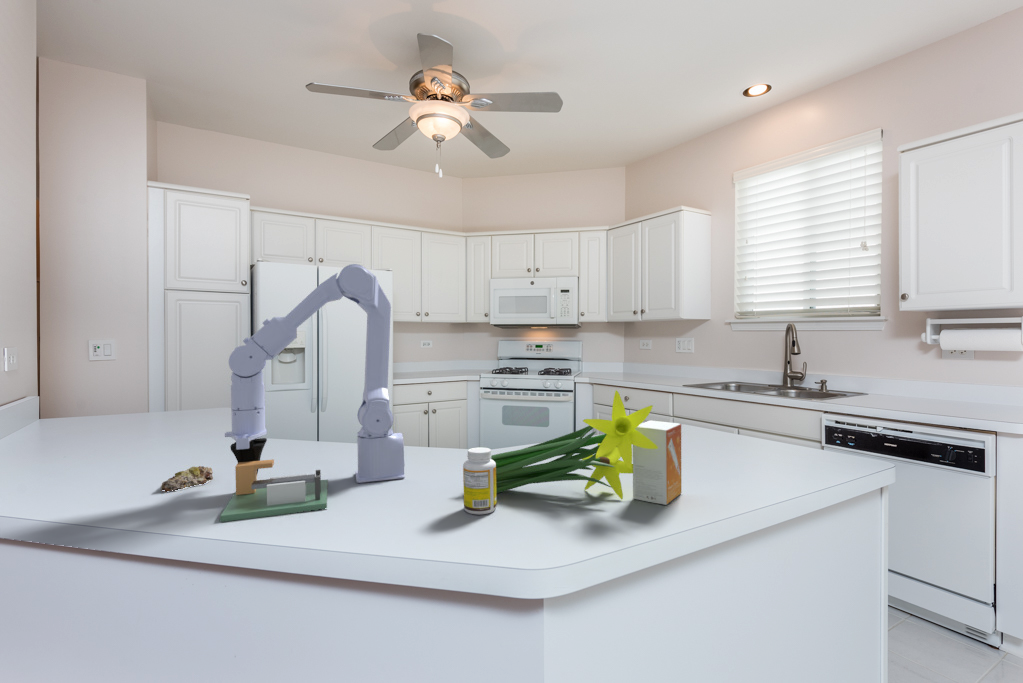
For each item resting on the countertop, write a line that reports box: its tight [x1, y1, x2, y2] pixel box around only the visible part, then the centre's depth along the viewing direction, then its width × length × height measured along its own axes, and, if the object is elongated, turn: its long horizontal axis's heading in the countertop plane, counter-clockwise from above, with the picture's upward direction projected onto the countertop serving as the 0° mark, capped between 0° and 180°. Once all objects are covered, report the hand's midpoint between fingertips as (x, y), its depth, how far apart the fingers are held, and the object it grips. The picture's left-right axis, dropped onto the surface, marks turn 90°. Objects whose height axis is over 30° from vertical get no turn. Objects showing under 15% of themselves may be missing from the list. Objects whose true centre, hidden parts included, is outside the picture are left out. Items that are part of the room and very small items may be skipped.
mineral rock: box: [160, 465, 214, 493], centre depth 101 cm, size 11×4×8 cm
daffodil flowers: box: [491, 389, 658, 500], centre depth 91 cm, size 17×15×35 cm
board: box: [219, 469, 329, 523], centre depth 90 cm, size 16×15×5 cm
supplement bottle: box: [462, 446, 498, 516], centre depth 84 cm, size 6×6×10 cm
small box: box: [632, 419, 682, 506], centre depth 90 cm, size 8×6×13 cm
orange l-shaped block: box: [235, 459, 275, 495], centre depth 92 cm, size 6×3×5 cm, turn 110°
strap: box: [251, 473, 320, 489], centre depth 88 cm, size 11×3×1 cm, turn 110°
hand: (249, 478), depth 95 cm, fingers closed
